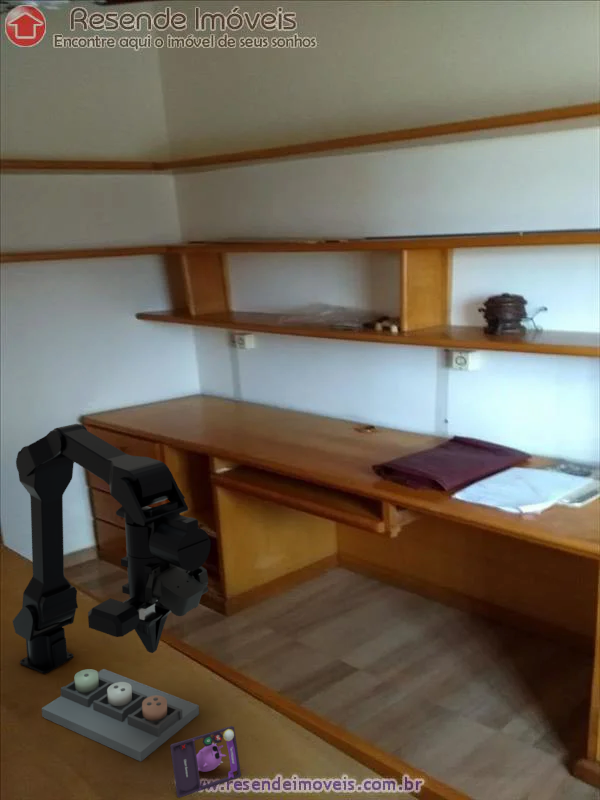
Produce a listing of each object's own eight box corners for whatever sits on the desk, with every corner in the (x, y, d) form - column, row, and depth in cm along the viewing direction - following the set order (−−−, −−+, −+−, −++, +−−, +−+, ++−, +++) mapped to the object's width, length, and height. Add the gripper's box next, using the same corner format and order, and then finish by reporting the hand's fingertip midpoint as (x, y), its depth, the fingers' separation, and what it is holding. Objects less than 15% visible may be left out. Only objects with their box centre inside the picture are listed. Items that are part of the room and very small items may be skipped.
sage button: (70, 688, 123) (69, 677, 123) (87, 677, 126) (86, 666, 126) (86, 694, 121) (85, 683, 121) (103, 683, 124) (103, 672, 124)
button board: (42, 717, 121) (40, 700, 120) (104, 676, 131) (103, 661, 131) (140, 761, 110) (139, 743, 110) (199, 714, 121) (198, 697, 121)
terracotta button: (137, 715, 116) (136, 704, 116) (153, 703, 119) (153, 692, 119) (156, 723, 114) (155, 712, 114) (172, 710, 117) (171, 699, 117)
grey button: (102, 701, 120) (102, 690, 119) (119, 689, 123) (119, 679, 122) (120, 708, 118) (119, 697, 118) (137, 696, 121) (136, 685, 121)
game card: (172, 746, 103) (235, 727, 107) (161, 737, 108) (222, 719, 112) (179, 799, 103) (243, 778, 107) (168, 788, 107) (229, 768, 111)
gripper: (145, 588, 100) (150, 699, 103) (232, 540, 115) (234, 638, 118) (82, 569, 105) (89, 675, 108) (173, 525, 121) (177, 619, 124)
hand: (151, 651), depth 115 cm, fingers closed
